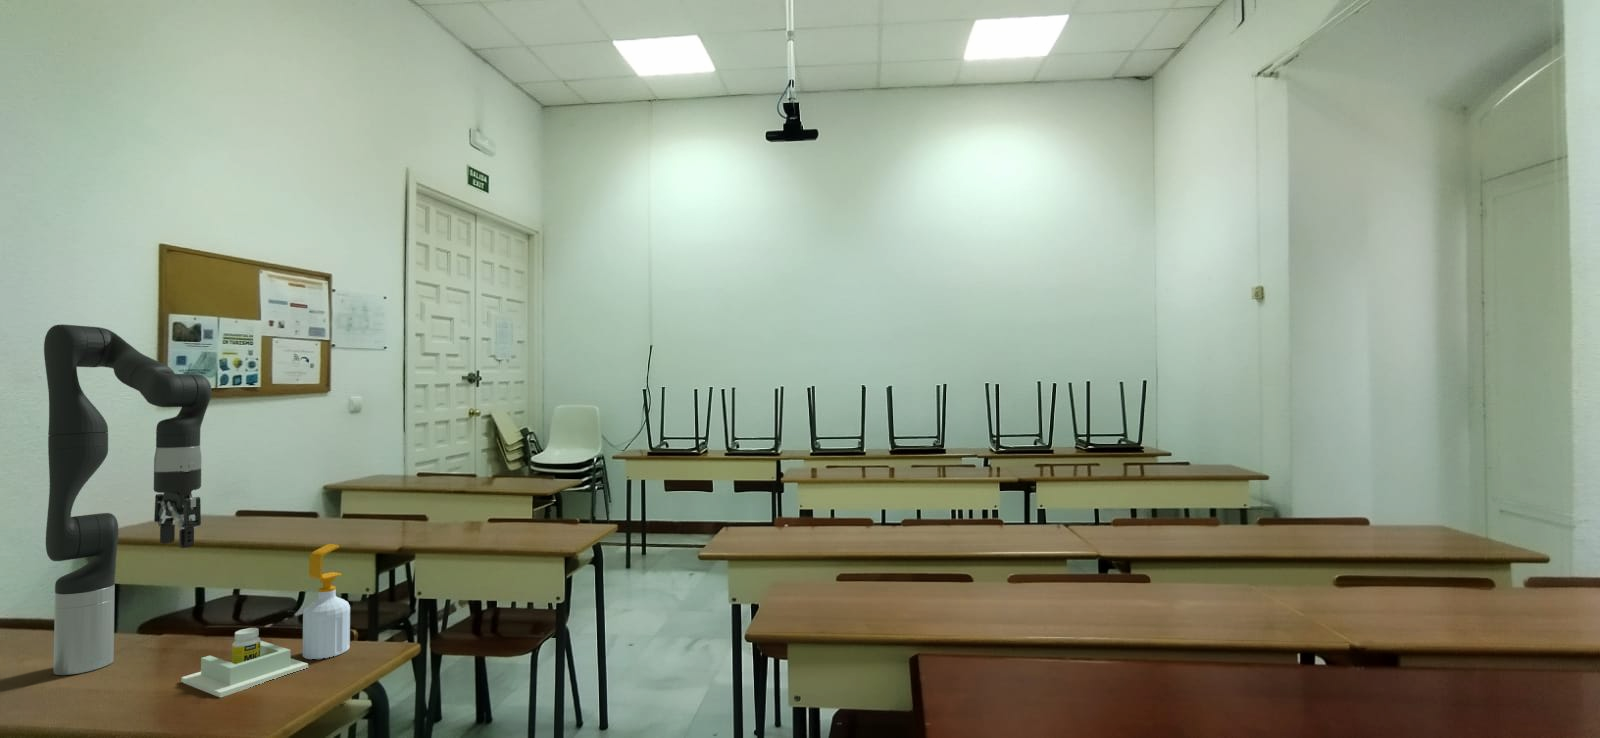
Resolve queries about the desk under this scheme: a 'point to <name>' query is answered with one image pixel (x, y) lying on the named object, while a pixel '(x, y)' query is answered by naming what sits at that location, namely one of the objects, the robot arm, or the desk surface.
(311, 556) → the soap bottle
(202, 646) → the desk surface
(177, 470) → the robot arm
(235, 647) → the supplement bottle
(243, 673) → the u rest
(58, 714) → the desk surface
